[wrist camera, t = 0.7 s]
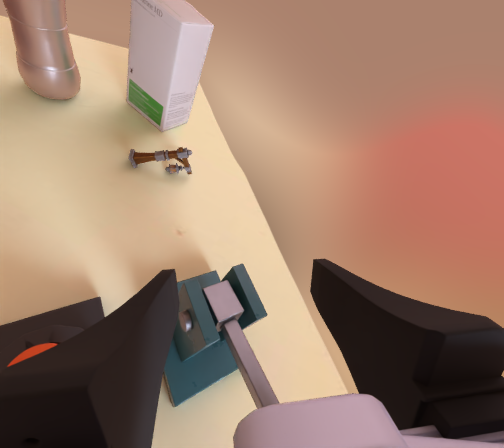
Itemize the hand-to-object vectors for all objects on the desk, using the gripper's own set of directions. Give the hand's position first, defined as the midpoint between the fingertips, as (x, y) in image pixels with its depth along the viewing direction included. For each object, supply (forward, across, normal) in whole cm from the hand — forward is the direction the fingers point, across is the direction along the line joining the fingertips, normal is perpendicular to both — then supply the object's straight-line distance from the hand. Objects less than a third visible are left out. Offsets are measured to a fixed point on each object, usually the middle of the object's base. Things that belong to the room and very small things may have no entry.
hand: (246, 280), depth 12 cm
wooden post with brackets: (+26, +10, -2) cm, 28 cm away
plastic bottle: (+32, +24, -13) cm, 42 cm away
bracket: (+9, +4, +12) cm, 15 cm away
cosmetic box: (+36, +11, -10) cm, 39 cm away
